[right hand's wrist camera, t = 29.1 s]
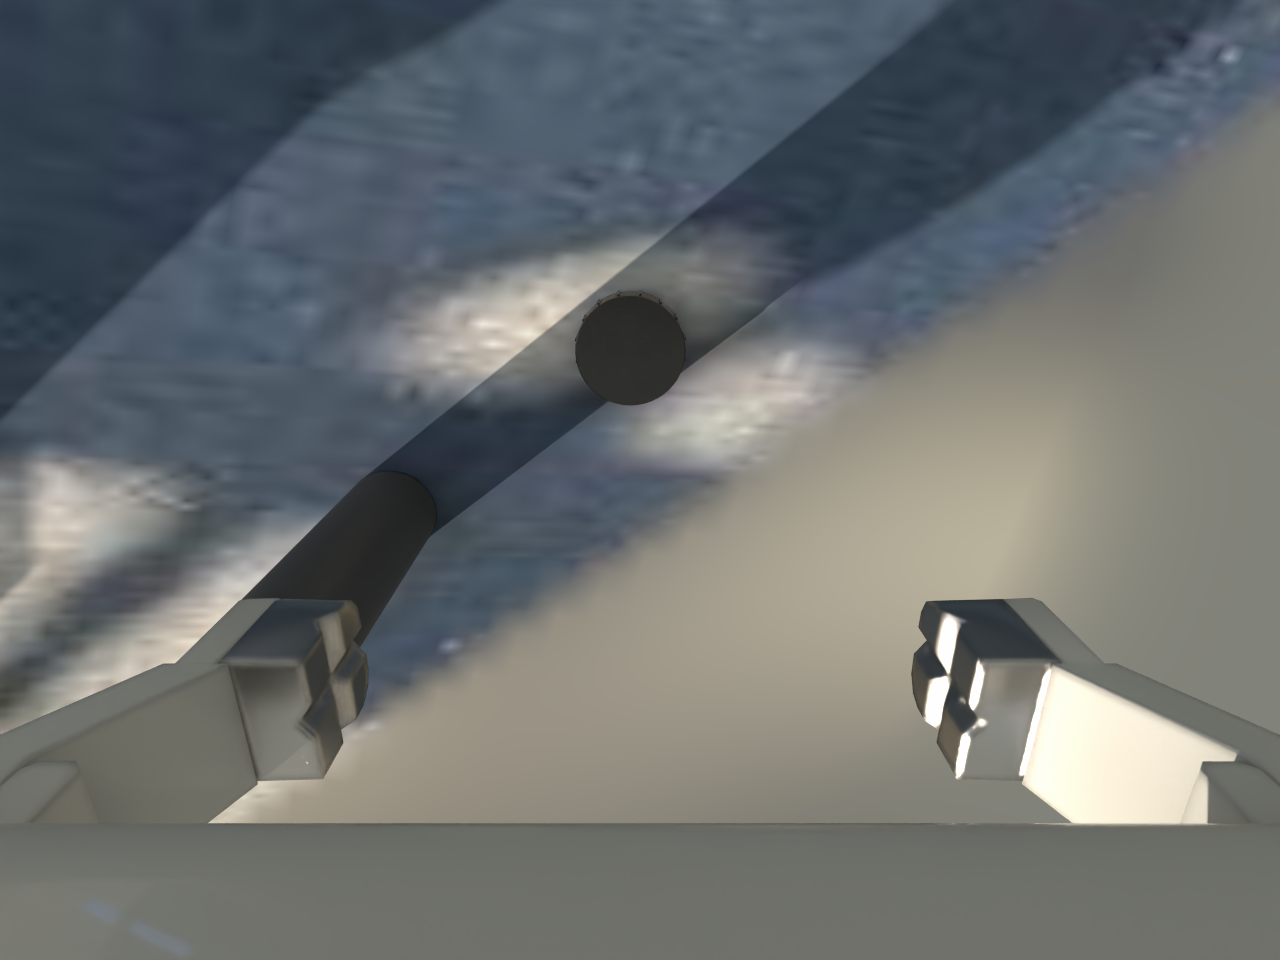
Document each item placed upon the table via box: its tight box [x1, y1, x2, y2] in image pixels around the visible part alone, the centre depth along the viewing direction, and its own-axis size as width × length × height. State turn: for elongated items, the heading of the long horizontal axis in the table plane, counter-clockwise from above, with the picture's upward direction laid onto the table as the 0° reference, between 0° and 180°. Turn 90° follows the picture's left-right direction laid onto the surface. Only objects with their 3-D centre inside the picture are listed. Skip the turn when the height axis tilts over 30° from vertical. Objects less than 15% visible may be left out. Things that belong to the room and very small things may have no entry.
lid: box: [575, 290, 686, 405], centre depth 34 cm, size 5×5×2 cm
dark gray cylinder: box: [242, 471, 436, 647], centre depth 31 cm, size 5×5×15 cm
